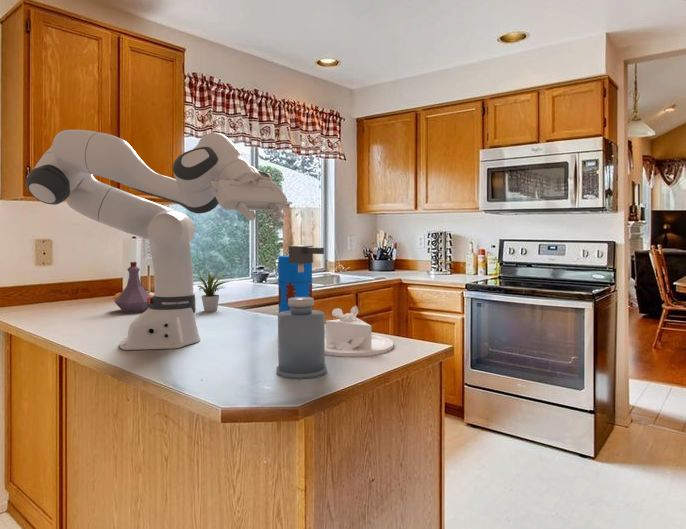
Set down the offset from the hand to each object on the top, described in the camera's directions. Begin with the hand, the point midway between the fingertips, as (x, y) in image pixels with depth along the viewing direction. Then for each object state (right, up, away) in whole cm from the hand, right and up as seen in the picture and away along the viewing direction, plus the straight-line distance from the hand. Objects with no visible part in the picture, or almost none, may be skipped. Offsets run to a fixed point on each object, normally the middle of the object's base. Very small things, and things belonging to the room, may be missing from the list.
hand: (267, 218), depth 125 cm
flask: (-67, -30, +84) cm, 112 cm away
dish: (+21, -35, +23) cm, 47 cm away
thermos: (+3, -34, +40) cm, 52 cm away
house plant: (-36, -31, +82) cm, 95 cm away
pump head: (+10, -13, -7) cm, 18 cm away
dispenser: (+9, -37, -4) cm, 38 cm away
